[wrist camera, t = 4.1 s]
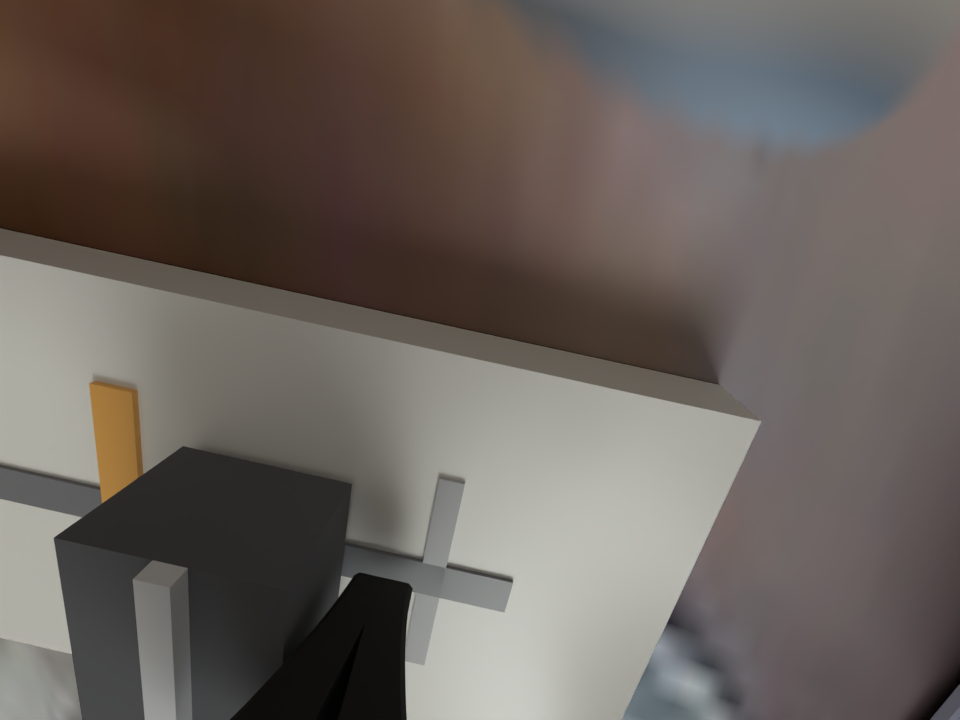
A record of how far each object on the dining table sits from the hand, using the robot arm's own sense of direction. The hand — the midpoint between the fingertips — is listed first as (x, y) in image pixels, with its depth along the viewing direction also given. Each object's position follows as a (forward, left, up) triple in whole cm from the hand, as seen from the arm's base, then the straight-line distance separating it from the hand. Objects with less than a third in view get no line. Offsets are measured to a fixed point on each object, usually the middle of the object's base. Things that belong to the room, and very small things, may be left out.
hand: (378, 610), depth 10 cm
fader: (+3, 0, -1) cm, 3 cm away
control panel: (+3, 0, -3) cm, 4 cm away
